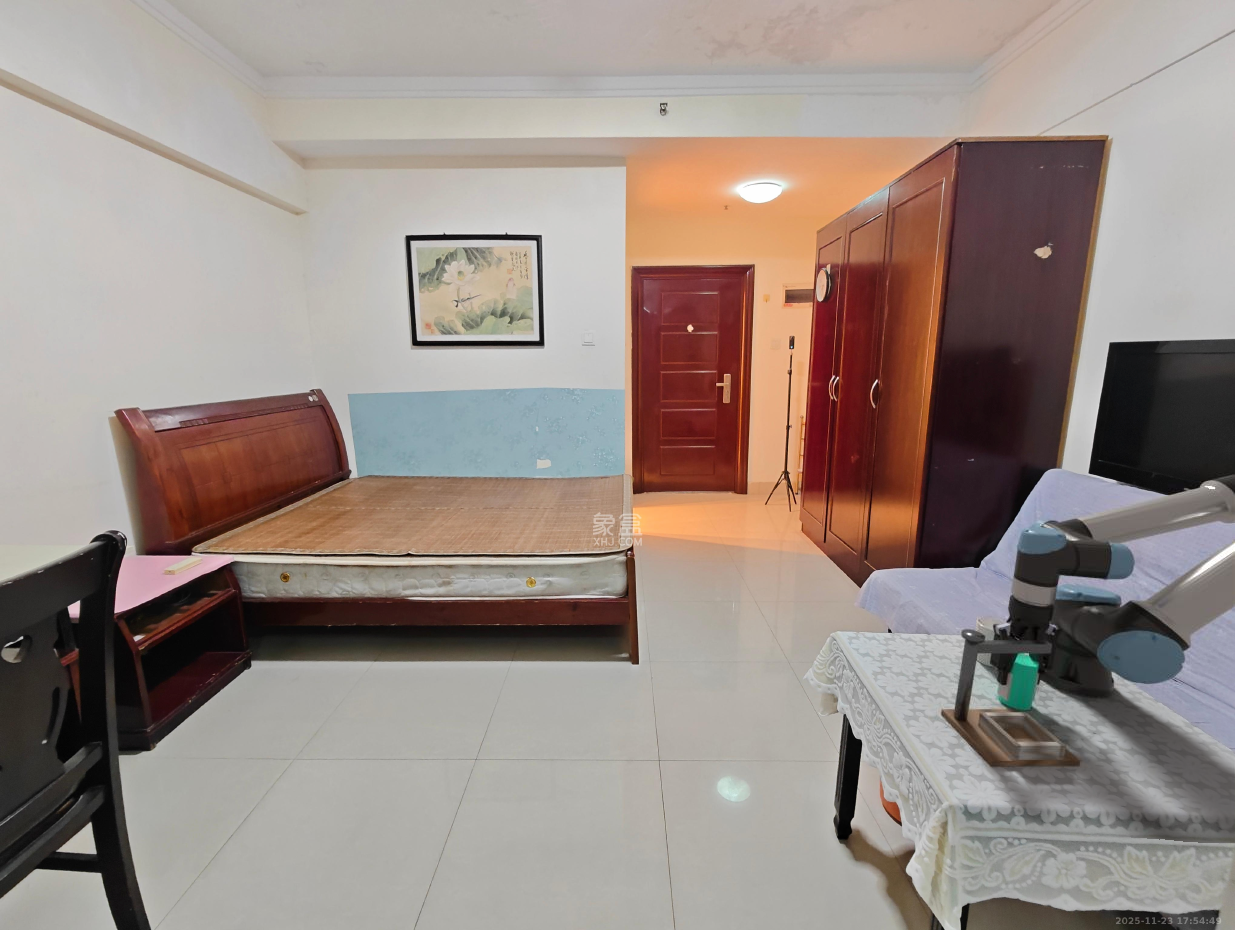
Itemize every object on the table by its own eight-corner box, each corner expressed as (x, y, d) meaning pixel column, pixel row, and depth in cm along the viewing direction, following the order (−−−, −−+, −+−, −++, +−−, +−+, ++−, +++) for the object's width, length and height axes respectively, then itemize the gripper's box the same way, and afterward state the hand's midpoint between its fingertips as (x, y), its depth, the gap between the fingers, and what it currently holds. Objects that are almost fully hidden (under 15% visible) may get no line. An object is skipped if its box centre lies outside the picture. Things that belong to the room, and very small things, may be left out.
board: (1018, 714, 114) (1021, 696, 114) (1079, 766, 100) (1083, 746, 99) (940, 714, 114) (943, 696, 113) (991, 766, 99) (994, 746, 98)
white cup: (1015, 671, 131) (1021, 633, 129) (979, 667, 132) (985, 630, 130) (999, 654, 138) (1005, 618, 136) (965, 650, 140) (971, 615, 138)
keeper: (1027, 710, 113) (1042, 629, 110) (1042, 723, 109) (1059, 639, 106) (944, 710, 113) (957, 629, 109) (957, 723, 109) (970, 639, 105)
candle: (1009, 709, 116) (1018, 659, 113) (992, 693, 121) (999, 644, 119) (1038, 710, 115) (1047, 660, 113) (1019, 694, 121) (1027, 645, 119)
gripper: (1058, 591, 118) (1041, 686, 122) (978, 591, 117) (964, 687, 122) (1088, 606, 110) (1069, 707, 115) (1004, 607, 110) (988, 707, 114)
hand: (1015, 696), depth 118 cm, fingers closed on candle, 5 cm apart
